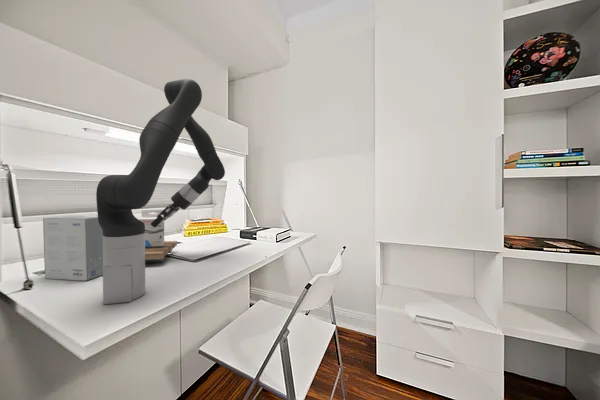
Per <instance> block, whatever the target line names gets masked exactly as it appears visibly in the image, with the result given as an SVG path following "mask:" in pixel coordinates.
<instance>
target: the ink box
mask: <svg viewBox="0 0 600 400" xmlns="http://www.w3.org/2000/svg"><path fill="white" fill-rule="evenodd" d="M163 210H164V209H142V210H141V217H140V218H138V220H140V221H142V222H143V223H144V224H145V247H152V246H163V245H164V241H165V221H164V220H163V221H162V222H161V223H160V224H158V225H157V226H156V227H153V226H152V225H151V223H152V222H153V221H154V220H155V219H156V218H157V215H159V214H160V213H161V212H162V211H163ZM161 216H162V217H164V215H161Z"/></svg>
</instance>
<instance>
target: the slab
mask: <svg viewBox="0 0 600 400" xmlns="http://www.w3.org/2000/svg"><path fill="white" fill-rule="evenodd" d="M177 246H178V240H169V241H168V240H164V245H163V246H152V247H145V259H162V258H163V257H164V256H165V257H166V256H168V255H167V254H168V253H169V252H170V251H171V250H172V251H173V249H175V248H176V247H177Z"/></svg>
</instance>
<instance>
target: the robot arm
mask: <svg viewBox="0 0 600 400" xmlns="http://www.w3.org/2000/svg"><path fill="white" fill-rule="evenodd" d="M163 88H164V89H163V90H164V91H163V93H164V95H165V99H166V101H167V103H168V104H169V105H168V106H166V107H164V108H163V109H161V110H160V111H158V112H157V113H156V114H155V115H153V116H152V117H151V118H150V119H149V121H148V122H147V123H146V125H145V127H144V128H143V129H142V130H141V133H140V135H139V140H138V142H139V149H140V158H139V160H138V162H137V164H135V167H134V168H133V169H132V170H131V172H130V173H129V174H110V175H106V176H104V177H102V178H101V180H100V181H99V182H98V184H97V187H96V192H95V194H96V196H95V198H96V210H97V211H96V213H97V216H98V222H99V225H100V227H101V228H102V232H103V275H102V296H103V297H102V301H103V302H102V303H103V305H110V304H112V305H113V304H120V303H121V304H123V303H131V302H132V301H134V300H136V299H138V298H140V297H143V296H144V295H145V293H146V291H147V290H146V263H145V224H144V223H143V222H142V221H140V220H139V218H137V217H136V216H135V215H134V214H133V211H132V210H138V209H142V208H143V207H145V206H146V205H147V204H149V202H150V201H151V198H152V197H153V195H154V192H155V189H156V187H157V184H158V182H159V179H160V176H161V173H162V171H163V168H164V166H165V165H166V162H167V160H168V158H169V157H170V154H171V152H172V151H173V149H175V148H174V147H176V144H177V142H178V140H179V138H180V137H181V136H180V135H181V134H182V132H183V130H184V129H185V132H187V133H188V136H189V137H190V139H191V142H192V143H193V145H194V148H195V149H196V153H197V154H198V156H199V158H200V159H201V161H202V162H203V166H201V168H200V169H199V171H198V172H197V173H196V175H195V176H193V178H192V179H191V180H190V181H188V182H187V183H186V184H184V185H183V186H182V187H181V188H180V189H179V190H177V191H176V193H175V194H173V195H172V196H171V197H170V200H171V201H172V203H170V204H168V205H167V206H166V207H165V208H164V209H162V210H163V211H162V212H161V213H160V214H159V215H157V218H156V219H155V220H154V221H153V222H152V223H151V225H152V226H153V227H156V226H157V225H158V224H160V223H161V222H162V221H163V220H164V222H165V221H166V220H168V219H170V218H171V217H173V216H174V215H175V214H176V213H178V212H179V211H180V209H181V210H185V211H186V209H188V208H189V207H190V206H191V205H192V204H193V203H194V202H195V201H196V200H197V199H199V197H200V196H201V195H202V194H203V193H204V192H205V191H206V190H207V189H208V188H209V185H210V184H209V183H210V182H211V180H213V181H220V180H222V179H224V177H225V174H226V170H225V166H224V164H223V162H222V161H221V159H220V157H219V156H218V153H217V150H216V147H215V145H214V143H213V140H212V138H211V136H210V135H209V133H208V132H207V131H206V129H204V128H203V127H202V125H200V124H199V123H198V122H197V121H196V119H194V117H193V114H194V112H196V110H197V109H198V108H199V106H200V104H201V102H202V100H203V99H202V97H203V92H202V89H201V86H200V85H199V83H198V82H196V80H194V79H188V78H183V79H178V80H171V81H168V82H166V83H165V85H164V87H163ZM161 215H164V217H162V216H161Z"/></svg>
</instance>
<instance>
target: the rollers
mask: <svg viewBox="0 0 600 400" xmlns="http://www.w3.org/2000/svg"><path fill="white" fill-rule="evenodd" d="M171 252H172V253H173V249H172V250H171V251H170V252H169V253H171ZM165 261H166V256H164V257H163V258H162V259H145V264H149V263H150V264H151V263H164V262H165Z"/></svg>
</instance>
